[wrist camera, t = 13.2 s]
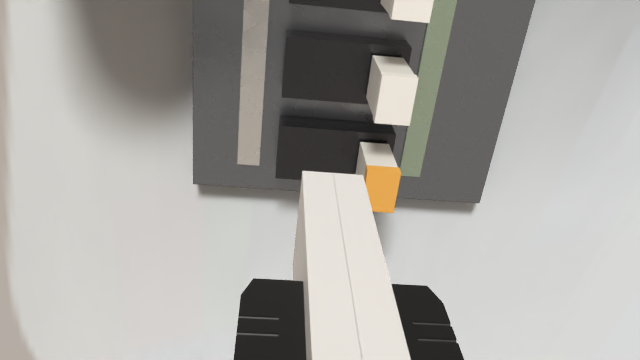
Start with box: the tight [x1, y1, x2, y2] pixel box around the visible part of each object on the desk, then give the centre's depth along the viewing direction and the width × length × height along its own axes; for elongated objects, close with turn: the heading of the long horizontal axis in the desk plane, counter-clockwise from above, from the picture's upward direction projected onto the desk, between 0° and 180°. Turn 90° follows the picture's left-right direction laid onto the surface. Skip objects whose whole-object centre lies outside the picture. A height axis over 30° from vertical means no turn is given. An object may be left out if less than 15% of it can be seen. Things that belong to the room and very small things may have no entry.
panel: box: [193, 0, 535, 203], centre depth 38 cm, size 22×18×4 cm
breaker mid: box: [366, 55, 419, 126], centre depth 34 cm, size 2×3×4 cm
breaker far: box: [355, 142, 401, 213], centre depth 37 cm, size 2×3×4 cm
